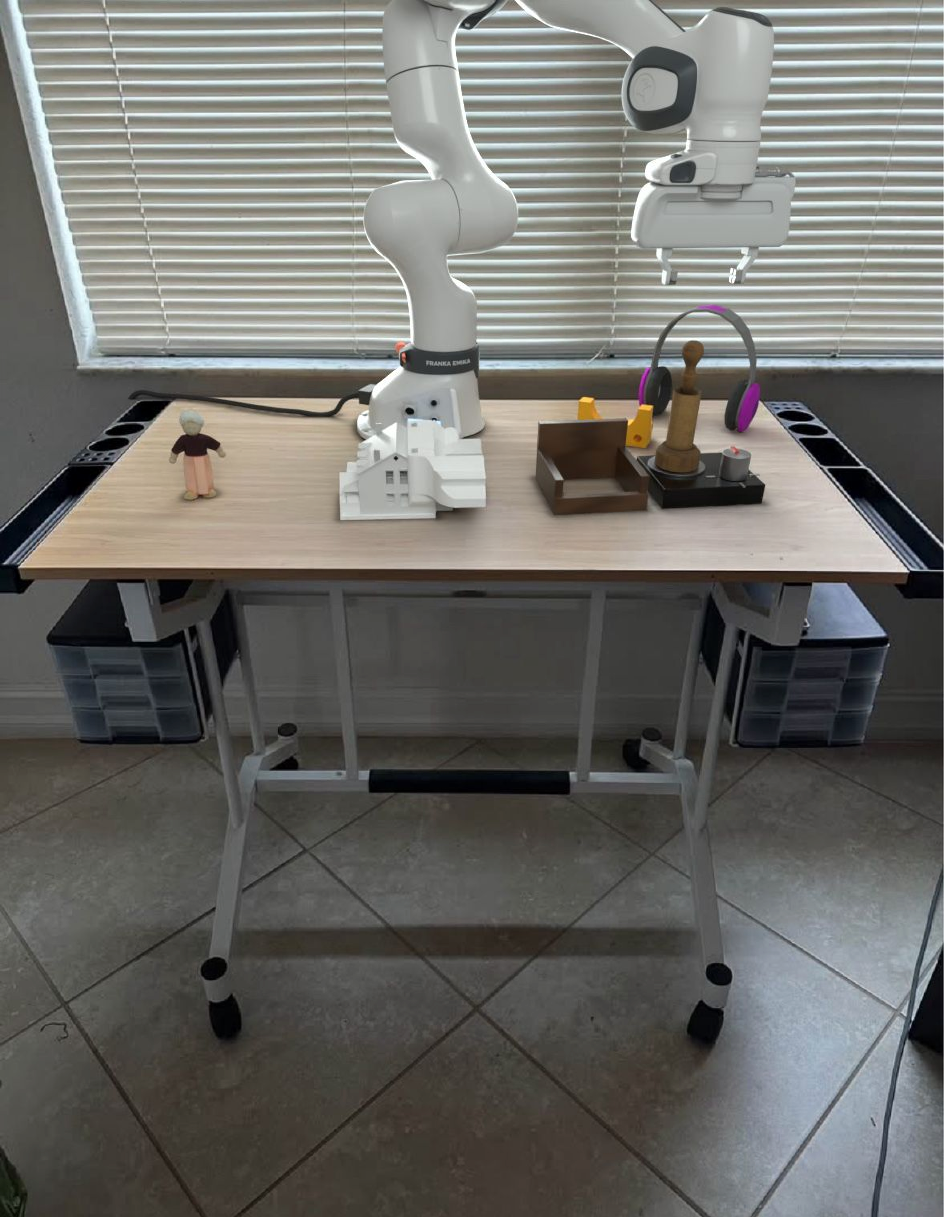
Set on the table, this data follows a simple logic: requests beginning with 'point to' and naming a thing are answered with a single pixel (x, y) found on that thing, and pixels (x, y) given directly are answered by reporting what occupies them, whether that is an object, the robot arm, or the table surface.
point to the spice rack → (589, 465)
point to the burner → (675, 474)
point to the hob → (702, 486)
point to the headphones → (743, 395)
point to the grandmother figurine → (196, 455)
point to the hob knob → (734, 464)
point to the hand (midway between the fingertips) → (702, 283)
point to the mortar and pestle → (683, 418)
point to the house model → (413, 473)
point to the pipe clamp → (637, 427)
